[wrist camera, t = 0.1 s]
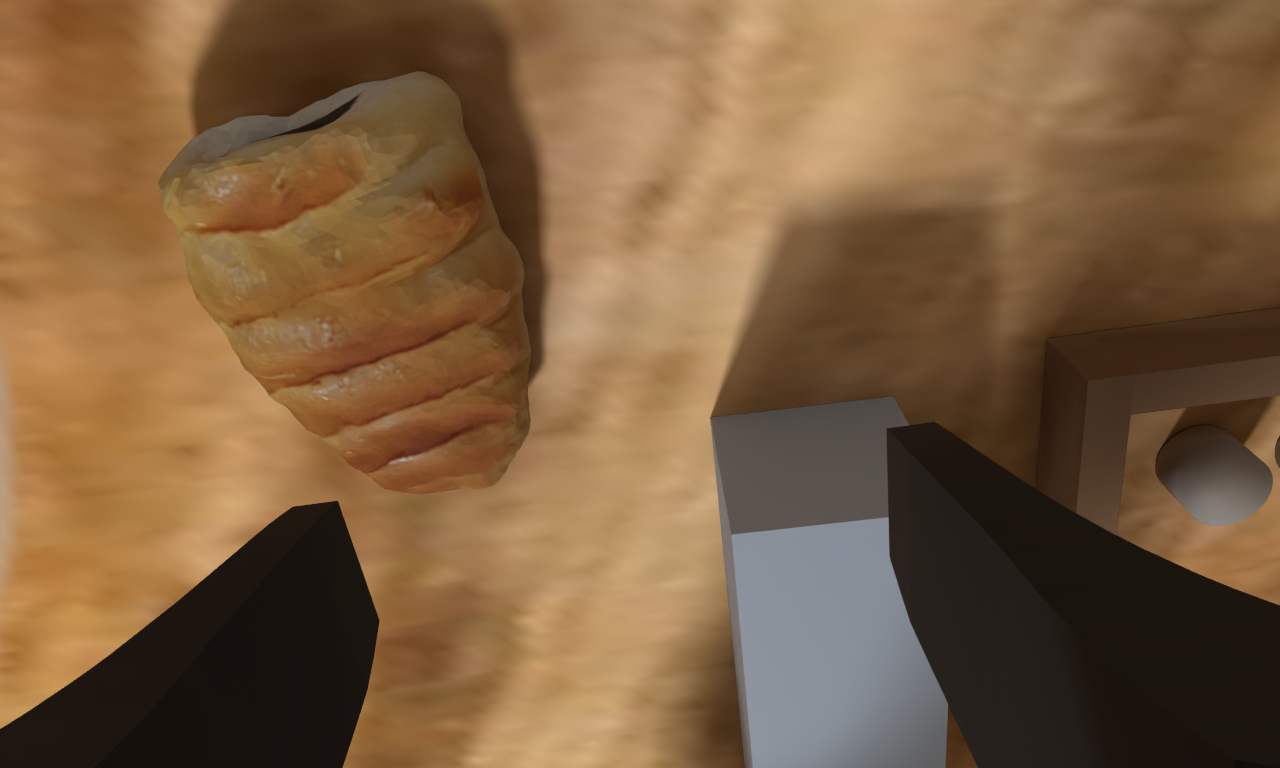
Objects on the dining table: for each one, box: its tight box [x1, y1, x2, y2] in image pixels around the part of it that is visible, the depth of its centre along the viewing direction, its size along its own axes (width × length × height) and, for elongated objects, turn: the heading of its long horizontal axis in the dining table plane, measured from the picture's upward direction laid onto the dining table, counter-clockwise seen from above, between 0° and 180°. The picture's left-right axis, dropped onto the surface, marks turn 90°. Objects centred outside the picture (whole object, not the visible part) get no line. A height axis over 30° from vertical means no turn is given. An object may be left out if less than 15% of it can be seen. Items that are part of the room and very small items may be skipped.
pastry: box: [158, 71, 531, 494], centre depth 20 cm, size 9×7×4 cm
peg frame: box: [1037, 308, 1280, 535], centre depth 25 cm, size 16×11×2 cm
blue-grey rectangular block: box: [710, 396, 948, 768], centre depth 24 cm, size 12×4×5 cm, turn 7°
